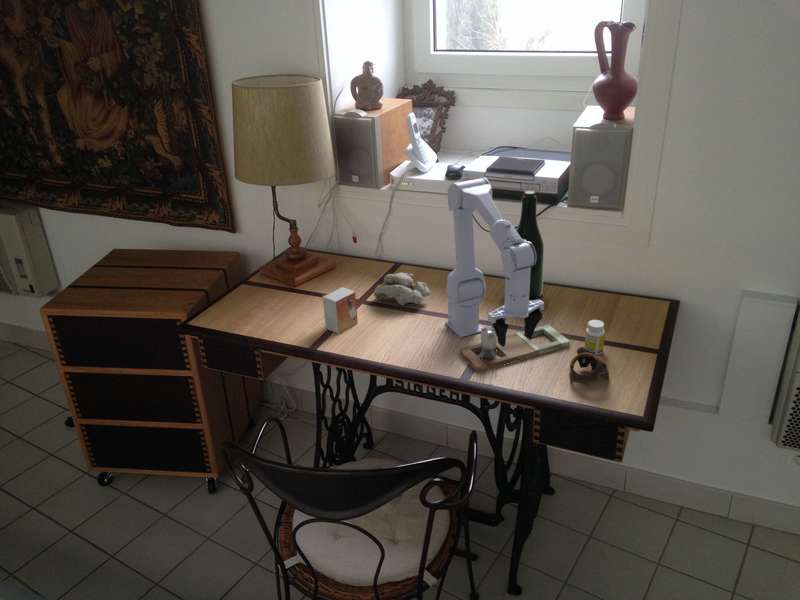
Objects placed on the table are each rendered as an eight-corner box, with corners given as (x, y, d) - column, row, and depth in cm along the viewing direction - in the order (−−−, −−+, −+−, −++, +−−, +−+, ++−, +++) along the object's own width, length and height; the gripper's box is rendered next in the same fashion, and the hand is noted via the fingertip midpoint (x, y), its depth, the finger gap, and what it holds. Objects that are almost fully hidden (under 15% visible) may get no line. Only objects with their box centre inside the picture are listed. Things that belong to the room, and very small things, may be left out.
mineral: (424, 308, 200) (429, 274, 200) (368, 301, 203) (372, 267, 203) (431, 308, 212) (435, 276, 212) (377, 301, 215) (381, 270, 215)
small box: (338, 334, 193) (335, 302, 188) (325, 328, 197) (321, 296, 192) (358, 323, 198) (355, 291, 193) (345, 317, 202) (342, 286, 197)
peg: (478, 355, 180) (478, 329, 177) (491, 351, 182) (491, 326, 178) (485, 363, 177) (486, 336, 173) (498, 359, 178) (499, 332, 175)
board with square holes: (459, 353, 181) (459, 348, 181) (547, 329, 191) (548, 323, 190) (477, 372, 173) (477, 367, 172) (569, 345, 183) (569, 340, 182)
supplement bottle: (599, 345, 182) (602, 318, 178) (605, 355, 178) (608, 327, 174) (581, 346, 182) (584, 319, 178) (586, 356, 178) (589, 328, 174)
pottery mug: (618, 386, 166) (610, 369, 161) (582, 403, 168) (574, 386, 162) (597, 351, 175) (589, 333, 169) (563, 368, 176) (554, 350, 171)
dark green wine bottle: (526, 283, 216) (531, 183, 201) (549, 295, 208) (556, 192, 193) (500, 292, 212) (503, 190, 196) (523, 305, 204) (527, 200, 188)
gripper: (499, 305, 155) (497, 355, 162) (552, 291, 160) (549, 341, 166) (483, 293, 161) (482, 342, 167) (535, 280, 166) (533, 328, 172)
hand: (514, 340), depth 167 cm, fingers open, 7 cm apart
